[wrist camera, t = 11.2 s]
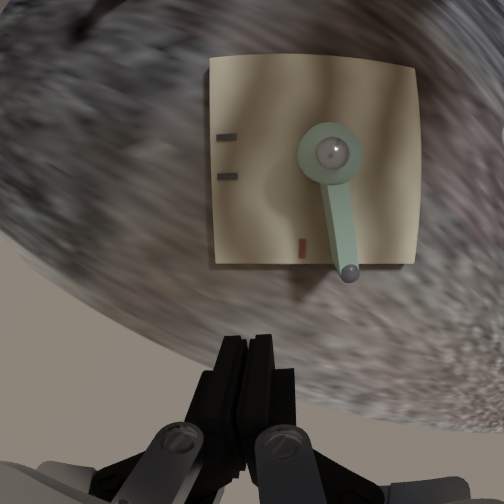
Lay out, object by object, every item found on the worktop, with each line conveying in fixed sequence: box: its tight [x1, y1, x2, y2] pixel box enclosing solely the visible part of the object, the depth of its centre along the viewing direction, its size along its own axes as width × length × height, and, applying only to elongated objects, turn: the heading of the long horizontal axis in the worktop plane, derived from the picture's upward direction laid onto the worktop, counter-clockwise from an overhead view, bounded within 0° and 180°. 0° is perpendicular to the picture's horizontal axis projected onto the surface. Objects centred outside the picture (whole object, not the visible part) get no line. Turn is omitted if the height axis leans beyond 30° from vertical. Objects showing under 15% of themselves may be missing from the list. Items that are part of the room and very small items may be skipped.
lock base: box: [210, 54, 421, 264], centre depth 25 cm, size 20×20×2 cm
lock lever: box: [296, 122, 362, 283], centre depth 22 cm, size 13×5×5 cm, turn 12°
